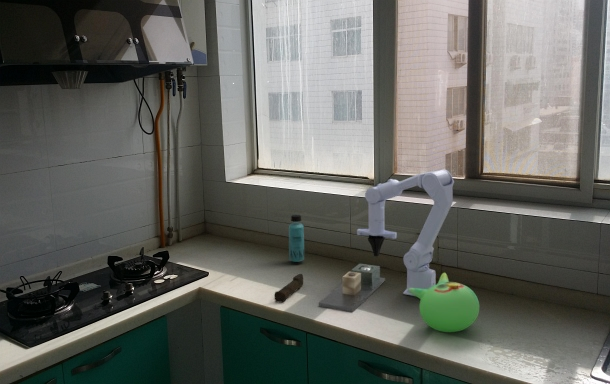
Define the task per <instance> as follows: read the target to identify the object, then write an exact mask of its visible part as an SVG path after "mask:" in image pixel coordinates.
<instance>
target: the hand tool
mask: <svg viewBox="0 0 610 384" xmlns="http://www.w3.org/2000/svg"><path fill="white" fill-rule="evenodd" d="M303 285H304V275H303V274H302V273H299V274H297V275H295V276H293V278H292V281H290V282H289V283H288V284H286V285H285V286H283V287H282V288H281V289H279V290H278V291H275V292H274V294H273V295H274V301H275V302H277V303H284V302H285V301H286V300H287V298H288V297H290V296H292V294H293V293H295V291H297V290H301V288H302V287H303Z"/></svg>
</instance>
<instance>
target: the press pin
mask: <svg viewBox="0 0 610 384" xmlns="http://www.w3.org/2000/svg"><path fill="white" fill-rule="evenodd" d="M361 270H367V271H370V270H371V268H370V267H361Z"/></svg>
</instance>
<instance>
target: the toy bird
mask: <svg viewBox="0 0 610 384" xmlns="http://www.w3.org/2000/svg"><path fill="white" fill-rule="evenodd" d="M408 291H409V292H410V293H412V294H413V295H415V296H414V297H416V298H418V299H420V300H419V313H420V316H421V318H422V320H423V321H424V322H425V323H426V325H427V326H429V327H430V328H432V329H433V330H436V331H439V332H442V333H455V332H457V333H458V332H461V331H463V330H466V329H467V328H469V327H470V326H471V325H473V324H474V322H475V321H476V319H477V318H478V316H479V313H480V302H479V299H478V296H477V295H476V293H475V292H474V290H472V289H471V288H470V287H468V286H467V285H465V284H462V283H459V282H454V281H449V278H448V275H447V273H446V272H443V273H441V275H440V277H439V279H438V282H437V283H436V284H435V285H434V286H432V287H430V288H429V289H420V288H409V289H408Z"/></svg>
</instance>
